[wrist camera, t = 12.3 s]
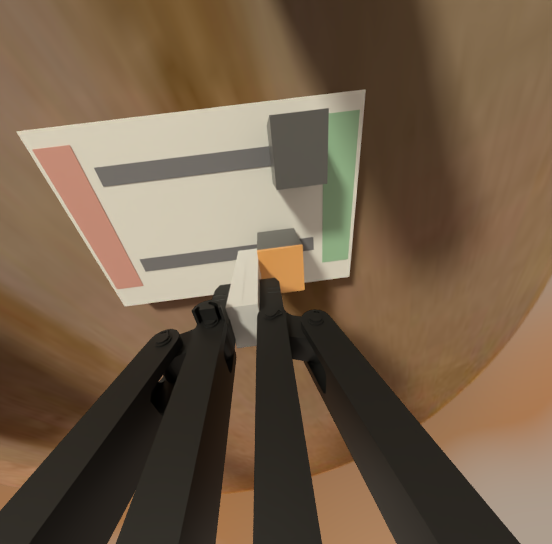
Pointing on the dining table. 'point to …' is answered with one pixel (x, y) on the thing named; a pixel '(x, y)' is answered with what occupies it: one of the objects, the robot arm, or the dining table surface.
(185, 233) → the board
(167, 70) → the dining table surface
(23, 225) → the dining table surface
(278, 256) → the breaker handle
